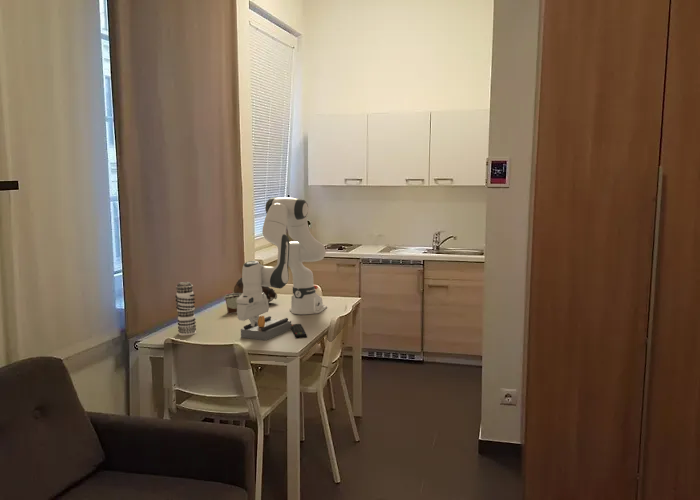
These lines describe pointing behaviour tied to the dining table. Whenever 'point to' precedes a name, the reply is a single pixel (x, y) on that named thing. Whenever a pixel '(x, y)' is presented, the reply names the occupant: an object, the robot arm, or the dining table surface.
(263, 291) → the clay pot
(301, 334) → the remote control
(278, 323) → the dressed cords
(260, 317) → the lever
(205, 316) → the dining table surface
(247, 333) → the tray
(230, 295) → the food container
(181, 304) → the decorative candle
